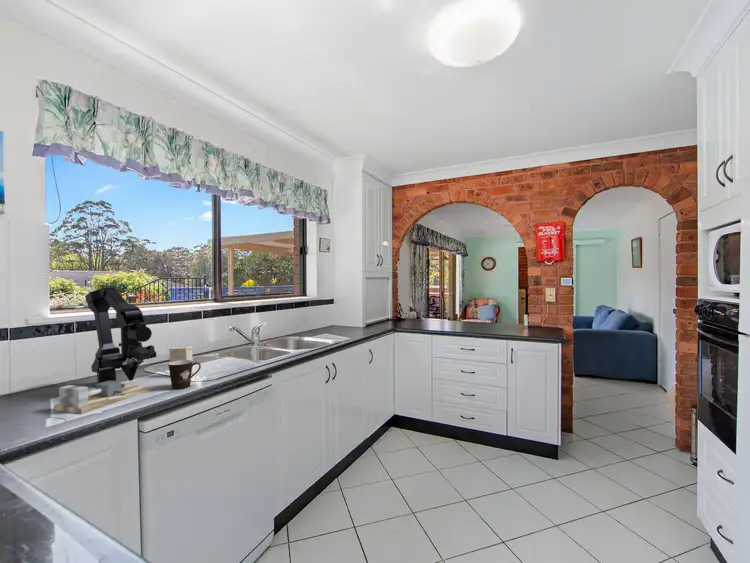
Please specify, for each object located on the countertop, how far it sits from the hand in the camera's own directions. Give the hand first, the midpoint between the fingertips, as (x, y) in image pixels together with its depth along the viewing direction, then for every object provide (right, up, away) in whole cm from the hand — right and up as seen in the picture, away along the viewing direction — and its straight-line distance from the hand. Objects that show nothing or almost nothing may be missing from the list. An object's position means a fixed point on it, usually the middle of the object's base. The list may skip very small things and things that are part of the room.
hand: (131, 380), depth 143 cm
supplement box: (+8, -4, +22) cm, 24 cm away
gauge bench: (-3, -5, -9) cm, 11 cm away
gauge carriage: (-2, -3, -12) cm, 12 cm away
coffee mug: (+18, -4, +5) cm, 20 cm away
